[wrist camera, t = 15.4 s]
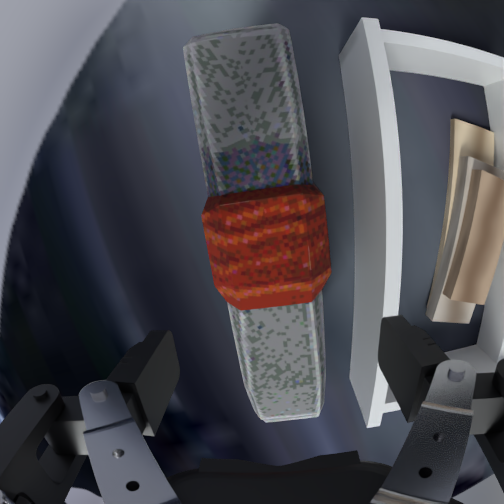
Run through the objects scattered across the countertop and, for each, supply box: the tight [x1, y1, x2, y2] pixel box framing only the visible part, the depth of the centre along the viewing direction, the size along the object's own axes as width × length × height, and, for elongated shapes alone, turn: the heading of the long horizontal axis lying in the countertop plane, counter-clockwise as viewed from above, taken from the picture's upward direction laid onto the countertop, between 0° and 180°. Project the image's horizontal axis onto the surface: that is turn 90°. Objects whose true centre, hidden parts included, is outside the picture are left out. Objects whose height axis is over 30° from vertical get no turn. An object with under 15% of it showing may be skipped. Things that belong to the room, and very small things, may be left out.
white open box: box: [339, 17, 504, 428], centre depth 28 cm, size 22×40×10 cm, turn 5°
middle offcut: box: [425, 156, 504, 324], centre depth 31 cm, size 6×20×2 cm, turn 172°
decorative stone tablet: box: [183, 23, 331, 422], centre depth 25 cm, size 19×6×30 cm
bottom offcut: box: [426, 119, 494, 308], centre depth 32 cm, size 7×24×2 cm, turn 176°
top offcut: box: [442, 169, 504, 305], centre depth 29 cm, size 6×15×2 cm, turn 170°
